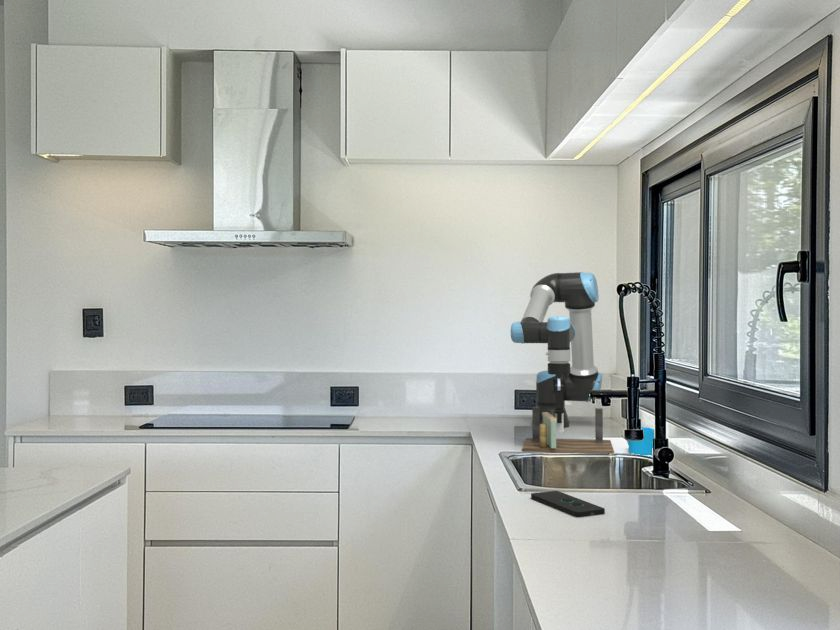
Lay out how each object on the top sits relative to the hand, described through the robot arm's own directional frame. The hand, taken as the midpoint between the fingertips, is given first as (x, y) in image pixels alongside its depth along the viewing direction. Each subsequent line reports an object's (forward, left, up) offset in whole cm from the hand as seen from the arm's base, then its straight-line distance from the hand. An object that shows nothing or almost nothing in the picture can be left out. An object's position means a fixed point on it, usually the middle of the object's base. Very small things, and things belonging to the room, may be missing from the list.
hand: (559, 432), depth 253 cm
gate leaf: (-5, -4, -5) cm, 8 cm away
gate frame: (-9, +3, -6) cm, 11 cm away
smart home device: (+74, +2, -7) cm, 74 cm away
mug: (-2, +26, -7) cm, 27 cm away
